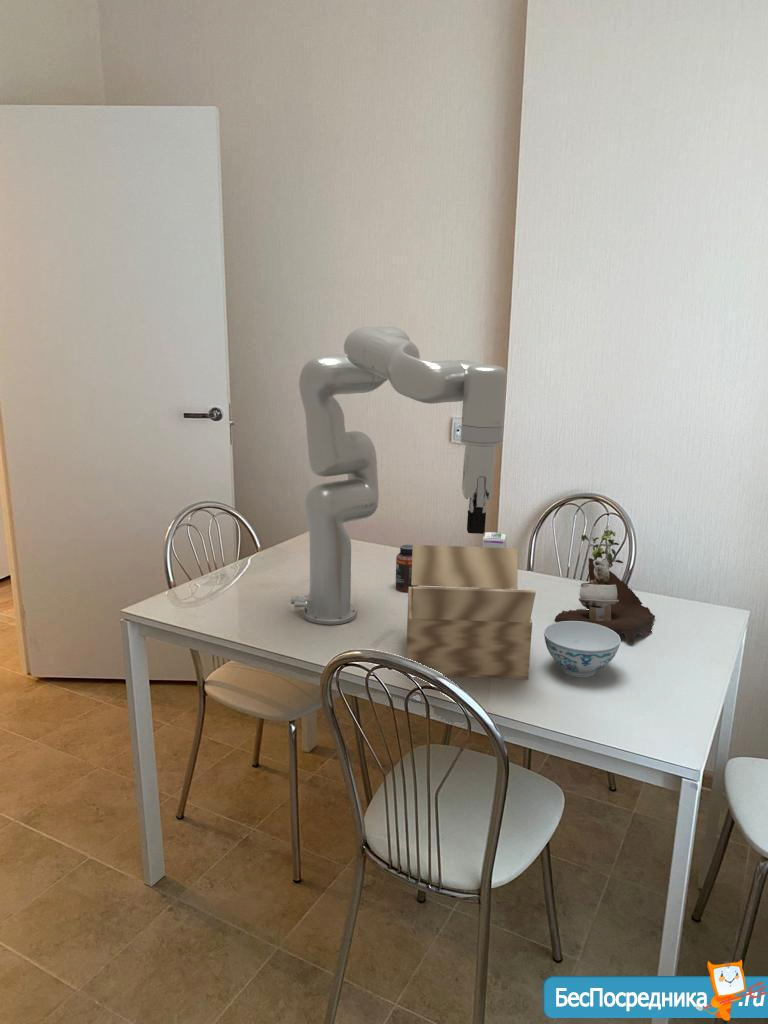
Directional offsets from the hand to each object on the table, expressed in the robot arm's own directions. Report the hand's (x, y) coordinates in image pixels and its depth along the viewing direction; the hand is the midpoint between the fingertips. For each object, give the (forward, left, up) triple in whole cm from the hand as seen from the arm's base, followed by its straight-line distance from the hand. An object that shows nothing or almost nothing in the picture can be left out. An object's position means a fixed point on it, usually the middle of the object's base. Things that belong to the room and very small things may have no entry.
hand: (475, 532), depth 154 cm
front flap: (0, 0, -14) cm, 14 cm away
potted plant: (+36, +35, -31) cm, 58 cm away
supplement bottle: (-12, +52, -31) cm, 62 cm away
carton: (0, +11, -31) cm, 33 cm away
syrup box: (+10, +54, -31) cm, 63 cm away
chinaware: (+23, +7, -31) cm, 39 cm away
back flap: (0, +22, -14) cm, 26 cm away
